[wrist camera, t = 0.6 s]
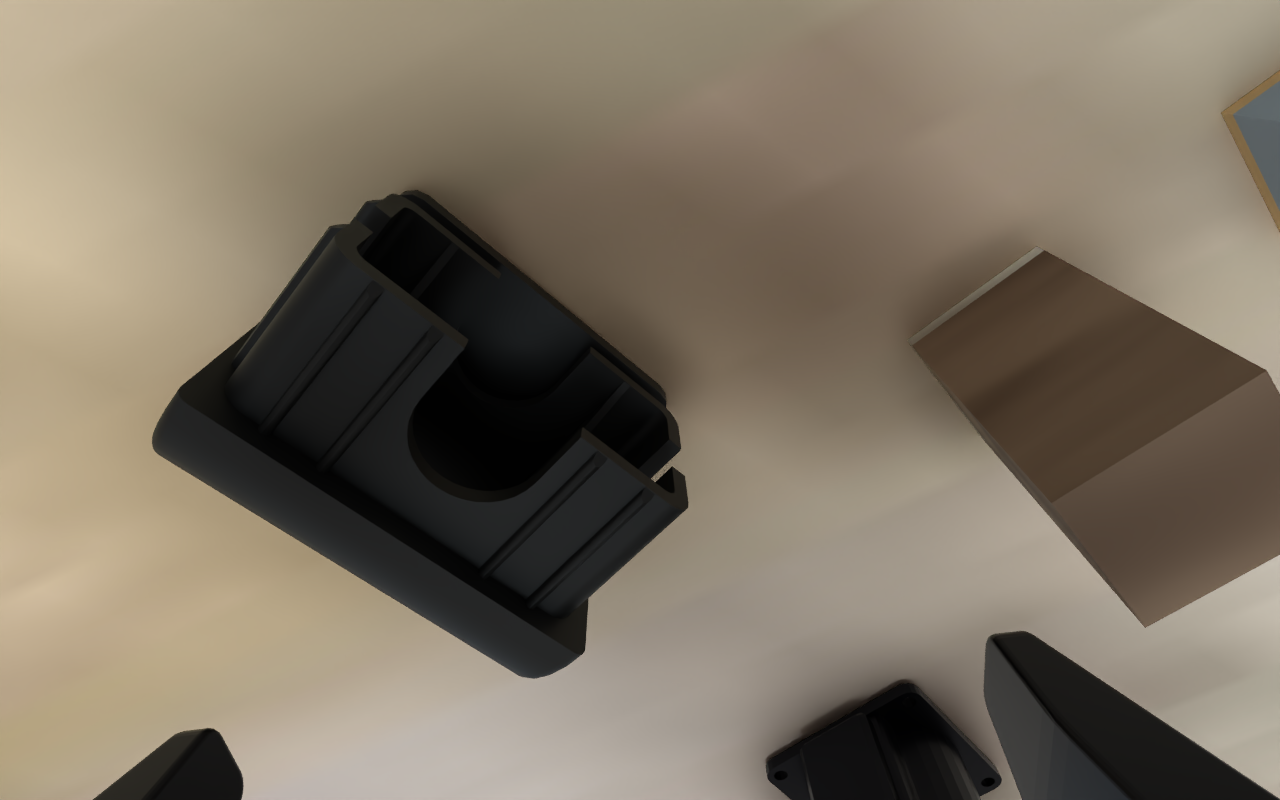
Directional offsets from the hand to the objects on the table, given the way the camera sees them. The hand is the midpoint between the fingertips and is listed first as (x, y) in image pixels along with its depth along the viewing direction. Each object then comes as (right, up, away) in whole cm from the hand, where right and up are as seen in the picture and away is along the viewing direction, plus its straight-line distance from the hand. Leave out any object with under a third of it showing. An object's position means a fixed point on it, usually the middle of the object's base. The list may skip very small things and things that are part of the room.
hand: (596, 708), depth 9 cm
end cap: (-4, +4, +13) cm, 14 cm away
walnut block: (+11, +5, +12) cm, 17 cm away
